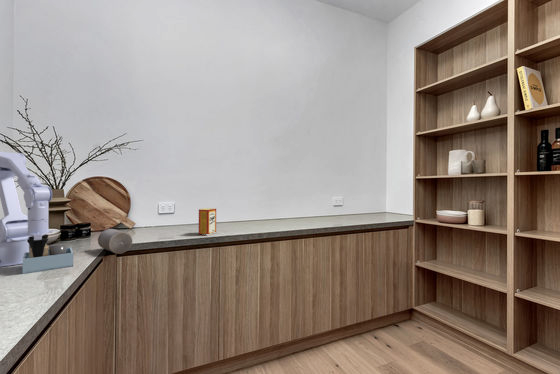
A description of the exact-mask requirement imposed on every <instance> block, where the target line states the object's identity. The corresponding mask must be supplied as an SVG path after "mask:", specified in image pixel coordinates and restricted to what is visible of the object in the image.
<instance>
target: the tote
mask: <svg viewBox="0 0 560 374" xmlns="http://www.w3.org/2000/svg"><path fill="white" fill-rule="evenodd" d="M71 267H74V252H73V248H72V246H70V247H66V254H59V255H51V256H43V257H35V258H29V252H26V253H24V256H23V264H22V275H25V274H31V273H39V272H44V271H51V270H52V271H53V270H58V269H63V268H71Z"/></svg>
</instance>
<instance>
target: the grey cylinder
mask: <svg viewBox="0 0 560 374" xmlns="http://www.w3.org/2000/svg"><path fill="white" fill-rule="evenodd" d="M48 248H49V256H51V255H59V254H66V248H67V244H66V243H57V244H56V243H55V244H51V245H48Z"/></svg>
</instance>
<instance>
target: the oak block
mask: <svg viewBox="0 0 560 374" xmlns="http://www.w3.org/2000/svg"><path fill="white" fill-rule="evenodd" d="M43 256H49V244H48V245H47V244H46V246H45V247H44V252H43ZM43 256H42V257H43ZM29 258H34V257H33V253H32V249H31V247H30V246H29Z"/></svg>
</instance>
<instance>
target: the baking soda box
mask: <svg viewBox="0 0 560 374" xmlns="http://www.w3.org/2000/svg"><path fill="white" fill-rule="evenodd" d="M213 232H216V233H217V208H209V207H206V208H204V207H203V208H199V209H198V235H199V234H210V233H213Z"/></svg>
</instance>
